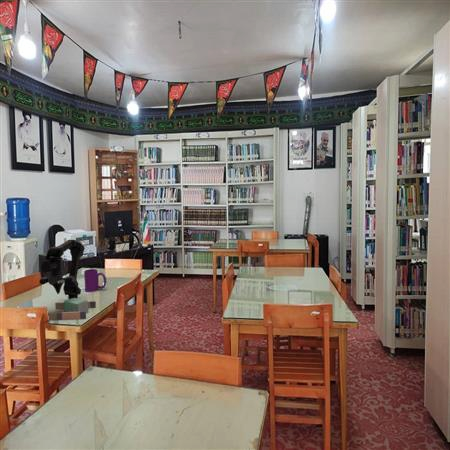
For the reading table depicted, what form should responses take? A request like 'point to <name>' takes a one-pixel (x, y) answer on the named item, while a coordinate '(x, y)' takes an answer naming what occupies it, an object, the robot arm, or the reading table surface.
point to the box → (76, 305)
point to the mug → (93, 280)
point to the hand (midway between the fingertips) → (58, 293)
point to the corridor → (69, 314)
